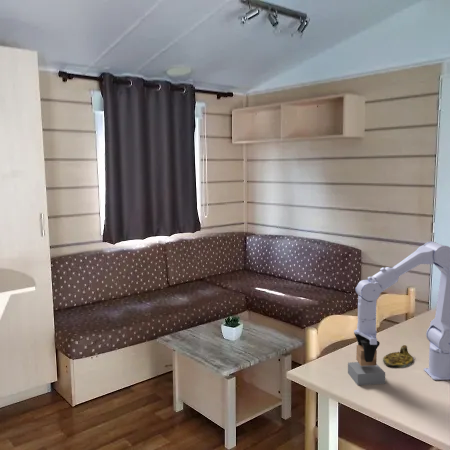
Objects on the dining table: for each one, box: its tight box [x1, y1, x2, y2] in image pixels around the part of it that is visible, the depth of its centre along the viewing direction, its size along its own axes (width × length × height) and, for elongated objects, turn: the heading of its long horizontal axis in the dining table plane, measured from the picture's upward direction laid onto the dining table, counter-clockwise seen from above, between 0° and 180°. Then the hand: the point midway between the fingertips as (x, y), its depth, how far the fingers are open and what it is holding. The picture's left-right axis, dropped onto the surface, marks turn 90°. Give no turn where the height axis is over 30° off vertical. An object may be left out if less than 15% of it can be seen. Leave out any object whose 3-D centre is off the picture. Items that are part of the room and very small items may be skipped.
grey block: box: [347, 361, 386, 386], centre depth 155 cm, size 9×9×4 cm
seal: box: [382, 344, 414, 369], centre depth 168 cm, size 9×5×15 cm
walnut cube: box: [355, 344, 378, 366], centre depth 154 cm, size 5×5×5 cm
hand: (366, 357), depth 154 cm, fingers closed on walnut cube, 5 cm apart
